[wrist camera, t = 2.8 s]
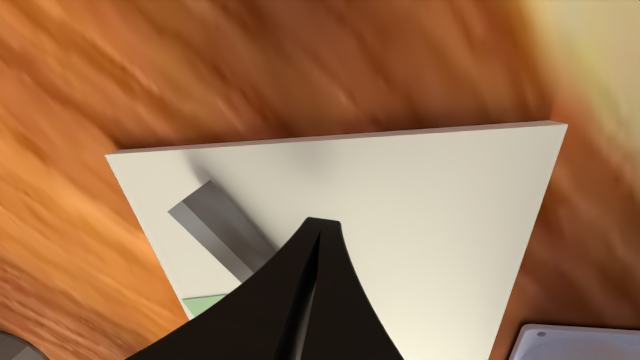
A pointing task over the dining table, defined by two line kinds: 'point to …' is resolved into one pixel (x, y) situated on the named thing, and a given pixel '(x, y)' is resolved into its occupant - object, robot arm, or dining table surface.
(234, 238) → the grey lever with knob
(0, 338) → the coffeepot
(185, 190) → the dial plate
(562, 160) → the dining table surface
